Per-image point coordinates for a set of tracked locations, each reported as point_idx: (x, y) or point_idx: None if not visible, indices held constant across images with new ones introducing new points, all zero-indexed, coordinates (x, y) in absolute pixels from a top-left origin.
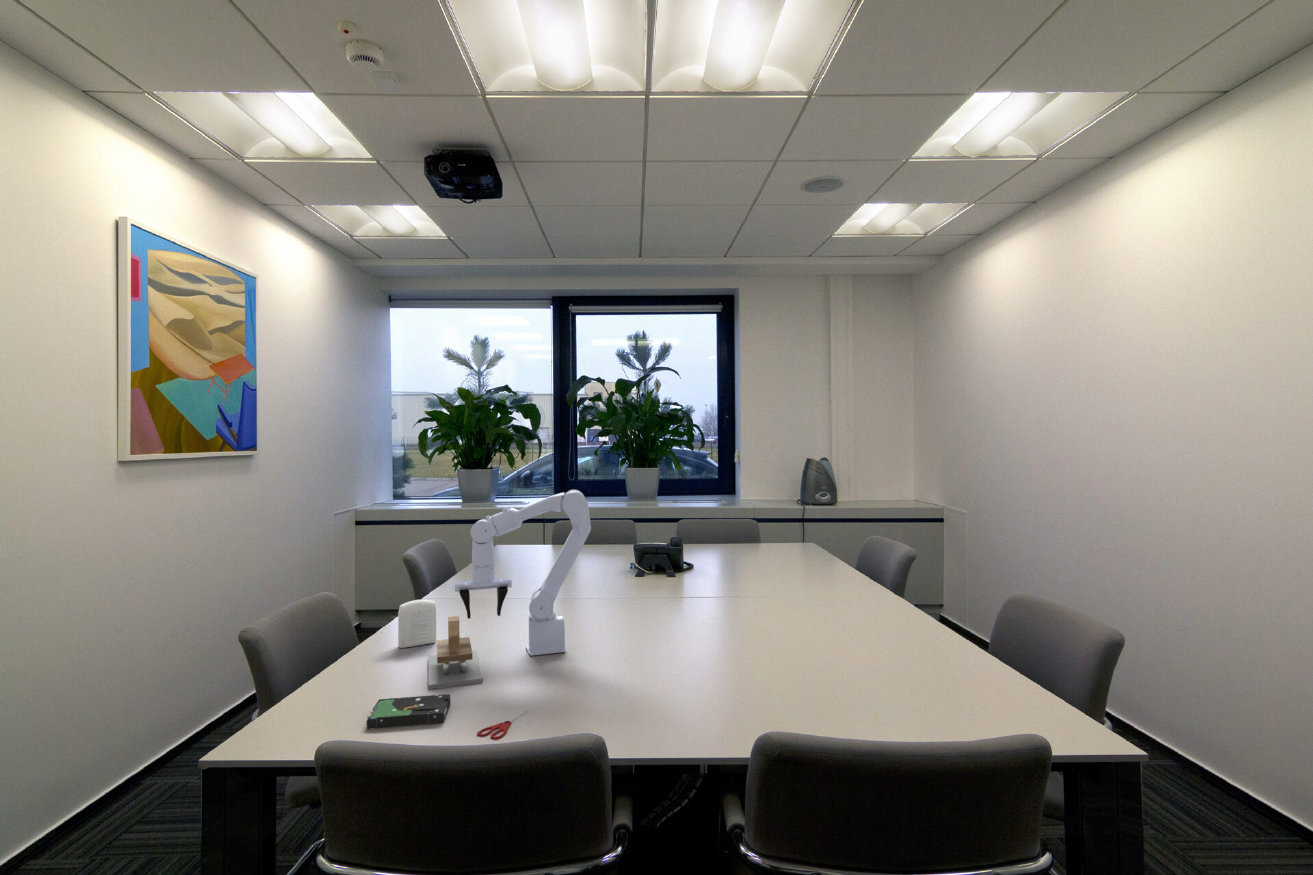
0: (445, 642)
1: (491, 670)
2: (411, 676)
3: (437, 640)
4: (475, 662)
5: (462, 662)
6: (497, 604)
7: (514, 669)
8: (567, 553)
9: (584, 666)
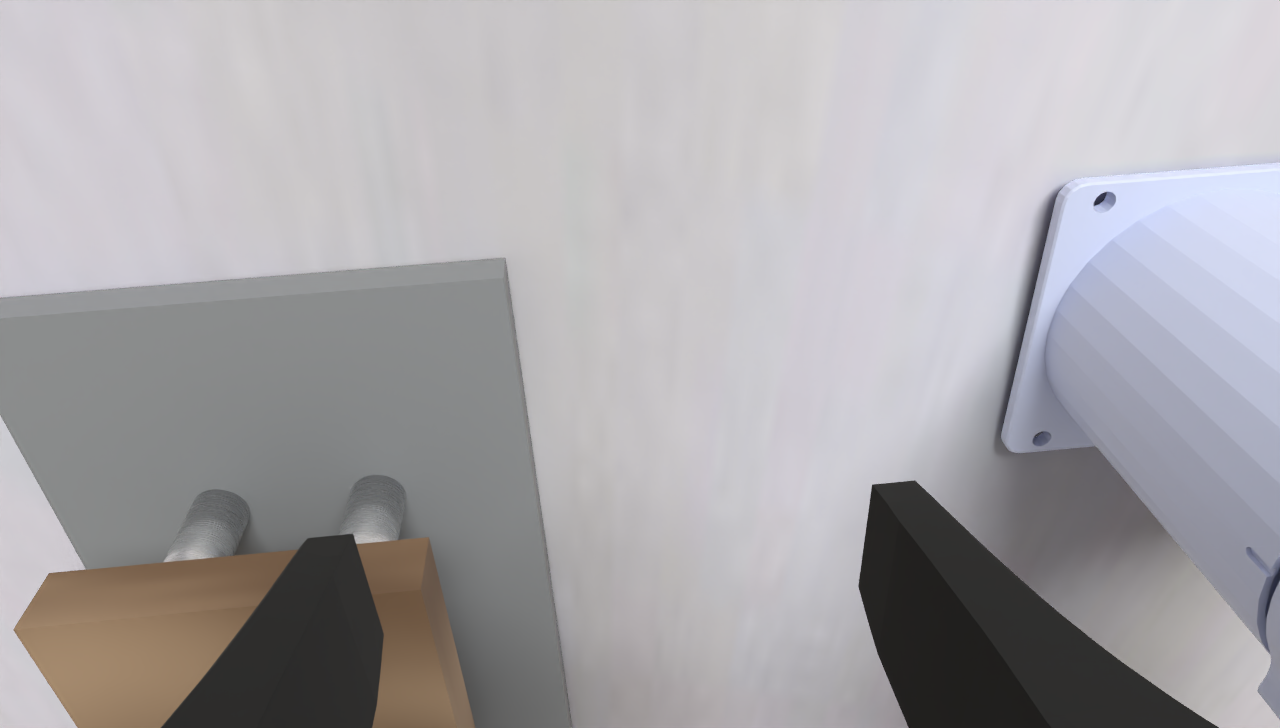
0: (166, 700)
1: (643, 643)
2: (17, 650)
3: (26, 631)
4: (516, 583)
5: None
6: (954, 639)
7: (806, 651)
8: None
9: (1245, 676)
